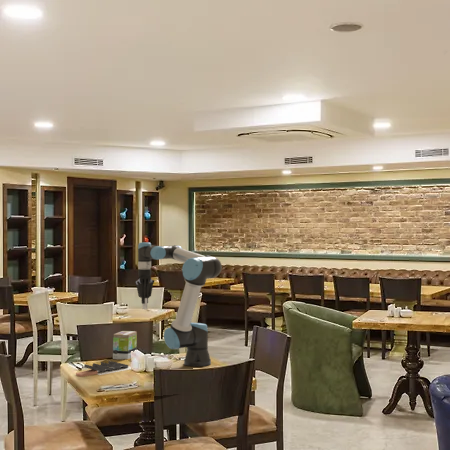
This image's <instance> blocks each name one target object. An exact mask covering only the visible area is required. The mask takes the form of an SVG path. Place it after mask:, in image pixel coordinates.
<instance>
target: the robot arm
mask: <svg viewBox="0 0 450 450" xmlns="http://www.w3.org/2000/svg"><path fill="white" fill-rule="evenodd" d="M137 254H138V255H137V260H138V262H137V266H138V267H137V268H138V271H137V272H138V273H137V274H138V279H137V280H136V281H135V280H134V284H135V285H136V290H137V295H138V297H139V298H141V304H142V306H141V307H142V310H148V303H149V298H150V297H152V292H153V286H154V283H155V280H154V279H153V278H152V277H151V276H152V269H151V268H152V260H157V261H158V260H167V259H168V260H169V259H171V260H174V261H178V262H180V263H182V269H181V271H182V277H183V279H184V281H185V285H184V288H183V292H182V294H181V299H180V302H179V306H178V308H177V309H178V310H177V313H176V317H175V319H174V320H172V322H171V324H170V327H167V328H165V330H164V332H163V340H164V343H165V345H166V346H167V347H168V348H169V349H171V350H179V349H183V348H186V354H185V358H184V359H183V365H184V366H188V367H205V366H210V365H211V364H212V359H211V357H210V353H209V349H208V347H209V346H208V343H209V342H208V339H209V338H208V337H209V331H208V325H207V324H206V323H201V322H192V320H193V317H194V313H195V309H196V307H197V306H196V305H197V303H198V299H199V295H200V292H201V290H202V287H203V286H205V285H206V282H207V279H214V278H217V277H218V276H219V275H220V274H221V272H222V263H221V261H220V260H219V259H218V257H215V256H211V255H202V254H200V253H197V252H193V251H190V250H187V249H184V248H183V247H182V246H180V245H175V244H174V245H152V243H151V242H145V241H144V242H139V243H138V248H137Z"/></svg>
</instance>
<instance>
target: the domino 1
mask: <svg viewBox="0 0 450 450" xmlns="http://www.w3.org/2000/svg"><path fill="white" fill-rule="evenodd" d="M75 375H76V376H77V377H81V378H84V377H87V376H88V377H89V376H93V375H98V371H97V370H93V369H87V370H83V371H79V372H76V373H75Z"/></svg>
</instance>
